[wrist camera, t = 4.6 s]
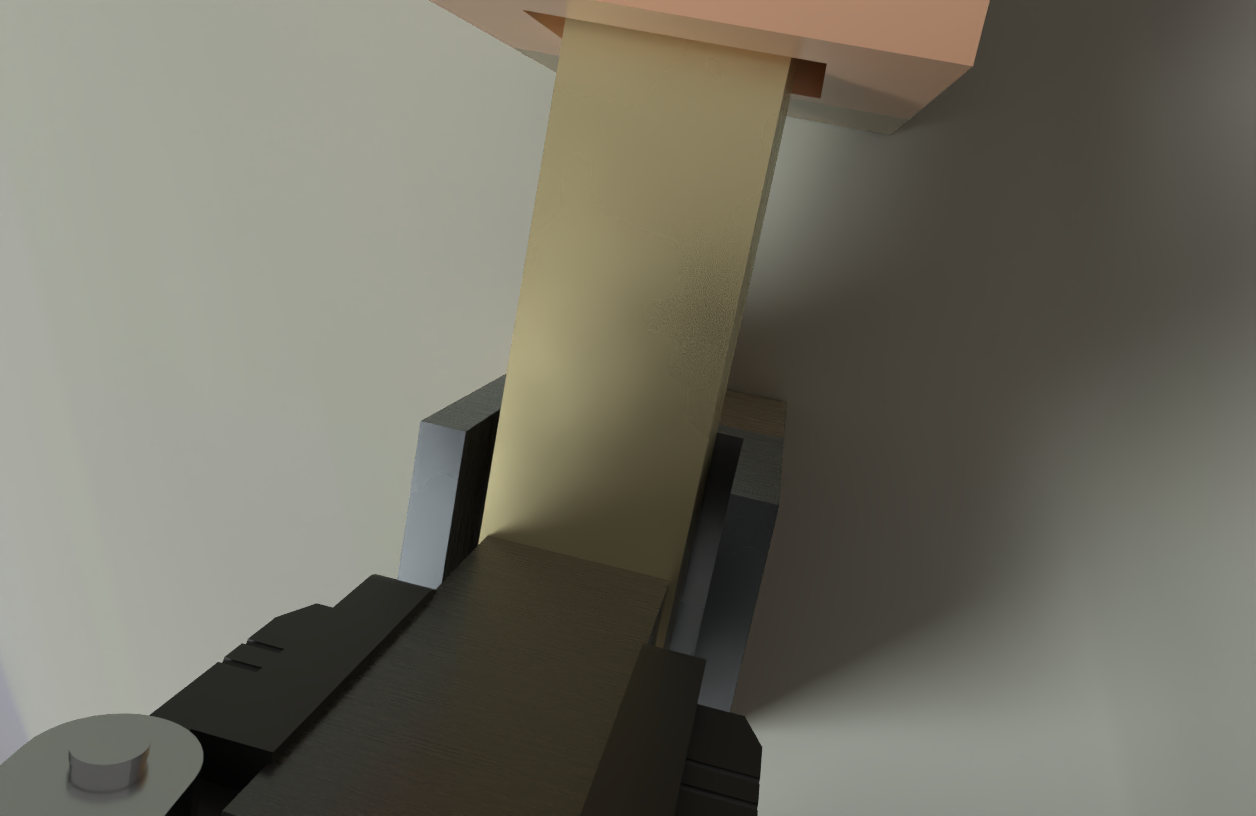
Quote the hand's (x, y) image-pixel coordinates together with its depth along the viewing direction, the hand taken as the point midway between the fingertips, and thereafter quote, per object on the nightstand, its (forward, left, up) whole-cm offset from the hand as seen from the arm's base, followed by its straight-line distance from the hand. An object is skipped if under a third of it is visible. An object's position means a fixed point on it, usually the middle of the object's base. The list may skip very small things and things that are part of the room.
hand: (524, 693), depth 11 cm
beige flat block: (+3, -1, -4) cm, 6 cm away
